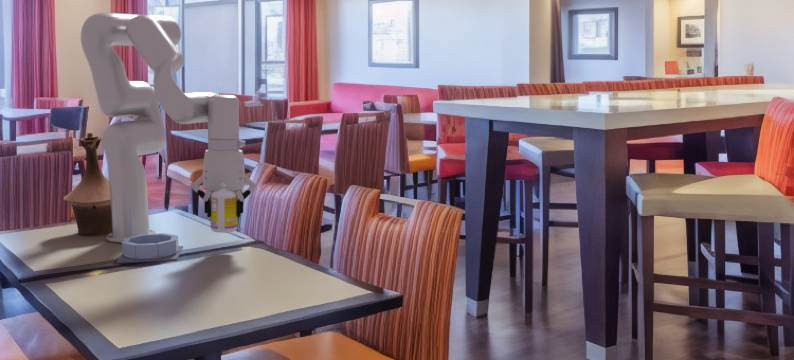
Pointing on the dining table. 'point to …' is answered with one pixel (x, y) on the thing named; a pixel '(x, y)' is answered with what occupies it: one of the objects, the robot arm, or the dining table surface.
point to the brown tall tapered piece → (92, 195)
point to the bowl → (150, 246)
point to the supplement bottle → (223, 210)
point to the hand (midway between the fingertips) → (224, 215)
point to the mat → (170, 258)
